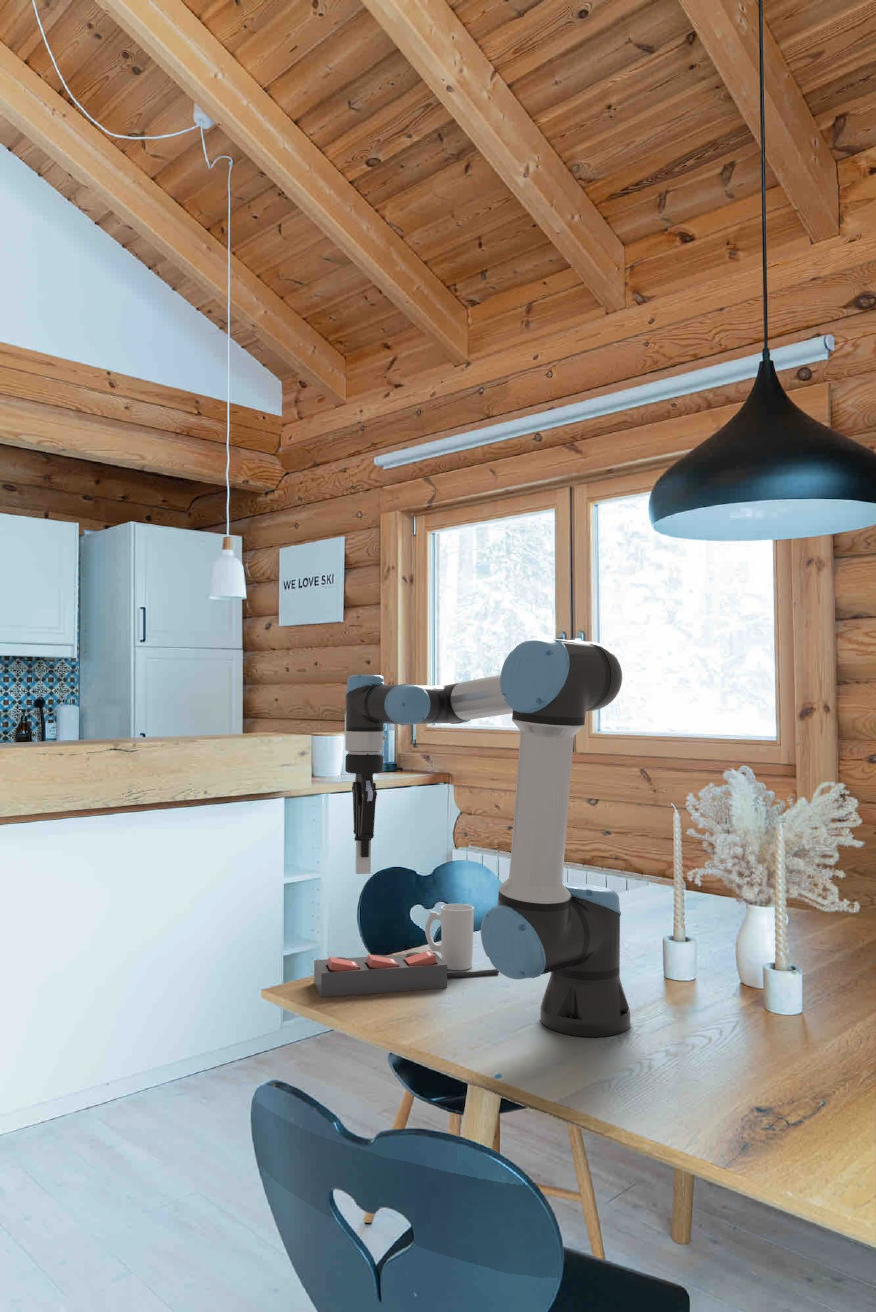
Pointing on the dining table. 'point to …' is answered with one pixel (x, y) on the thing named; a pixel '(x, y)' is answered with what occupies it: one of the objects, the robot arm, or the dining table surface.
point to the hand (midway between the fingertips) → (362, 873)
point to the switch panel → (385, 976)
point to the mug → (454, 935)
